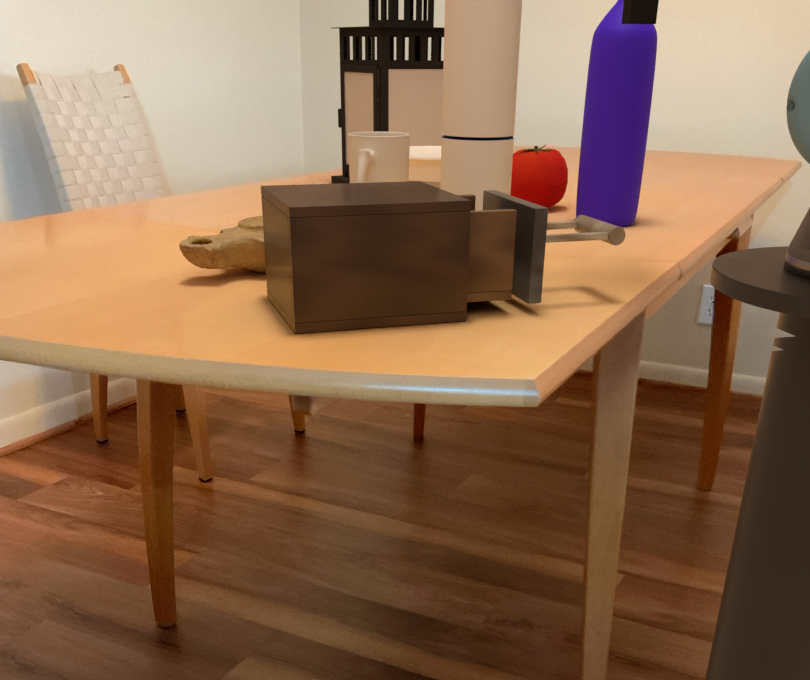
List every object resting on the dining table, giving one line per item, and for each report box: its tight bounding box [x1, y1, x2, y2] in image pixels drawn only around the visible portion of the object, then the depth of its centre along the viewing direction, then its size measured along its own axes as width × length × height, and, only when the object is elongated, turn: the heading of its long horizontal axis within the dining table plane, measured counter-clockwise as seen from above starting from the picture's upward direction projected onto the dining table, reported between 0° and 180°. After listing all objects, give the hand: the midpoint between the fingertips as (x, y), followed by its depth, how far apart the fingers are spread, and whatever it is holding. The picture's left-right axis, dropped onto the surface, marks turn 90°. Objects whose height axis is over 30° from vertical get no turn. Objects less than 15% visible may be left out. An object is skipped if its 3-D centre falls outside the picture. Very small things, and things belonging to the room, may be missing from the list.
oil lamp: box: [178, 215, 266, 274], centre depth 92 cm, size 11×14×5 cm
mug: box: [348, 131, 410, 183], centre depth 101 cm, size 10×7×12 cm, turn 163°
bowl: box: [409, 146, 441, 189], centre depth 121 cm, size 16×16×8 cm
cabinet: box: [260, 181, 471, 334], centre depth 78 cm, size 15×13×10 cm
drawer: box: [458, 190, 626, 305], centre depth 81 cm, size 22×11×8 cm, turn 108°
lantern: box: [330, 0, 444, 184], centre depth 145 cm, size 17×17×35 cm
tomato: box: [510, 144, 569, 209], centre depth 131 cm, size 9×10×8 cm
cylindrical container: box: [440, 0, 523, 211], centre depth 90 cm, size 7×7×25 cm
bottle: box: [575, 0, 658, 228], centre depth 116 cm, size 8×8×30 cm
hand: (638, 23), depth 84 cm, fingers closed
